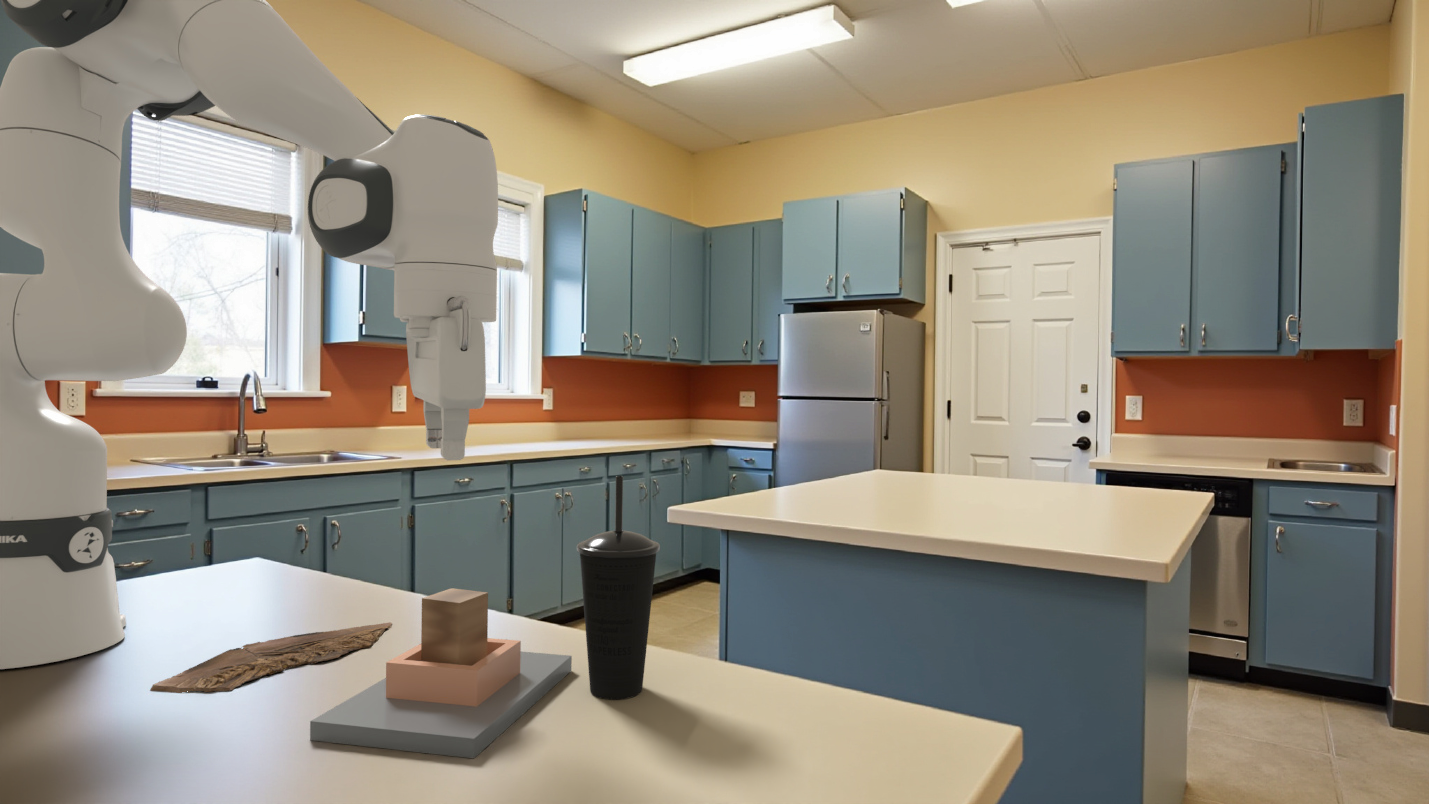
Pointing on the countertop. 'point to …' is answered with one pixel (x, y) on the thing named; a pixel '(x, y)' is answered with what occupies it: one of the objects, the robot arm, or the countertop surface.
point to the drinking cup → (617, 605)
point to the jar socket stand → (444, 701)
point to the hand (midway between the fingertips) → (444, 453)
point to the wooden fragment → (270, 659)
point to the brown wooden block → (454, 627)
